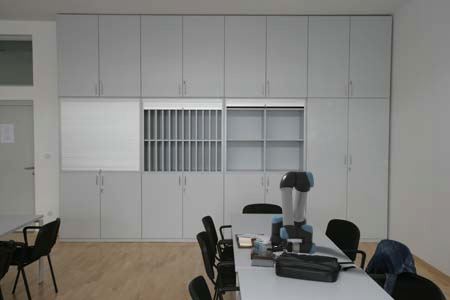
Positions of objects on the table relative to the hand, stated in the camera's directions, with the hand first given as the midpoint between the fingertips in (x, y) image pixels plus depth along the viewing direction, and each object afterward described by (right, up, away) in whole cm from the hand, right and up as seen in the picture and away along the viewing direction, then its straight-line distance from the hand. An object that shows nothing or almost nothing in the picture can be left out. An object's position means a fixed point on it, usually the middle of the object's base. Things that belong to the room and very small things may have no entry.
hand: (262, 245), depth 244 cm
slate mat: (-1, -8, -14) cm, 16 cm away
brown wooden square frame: (0, -8, +1) cm, 8 cm away
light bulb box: (0, -8, +1) cm, 8 cm away
